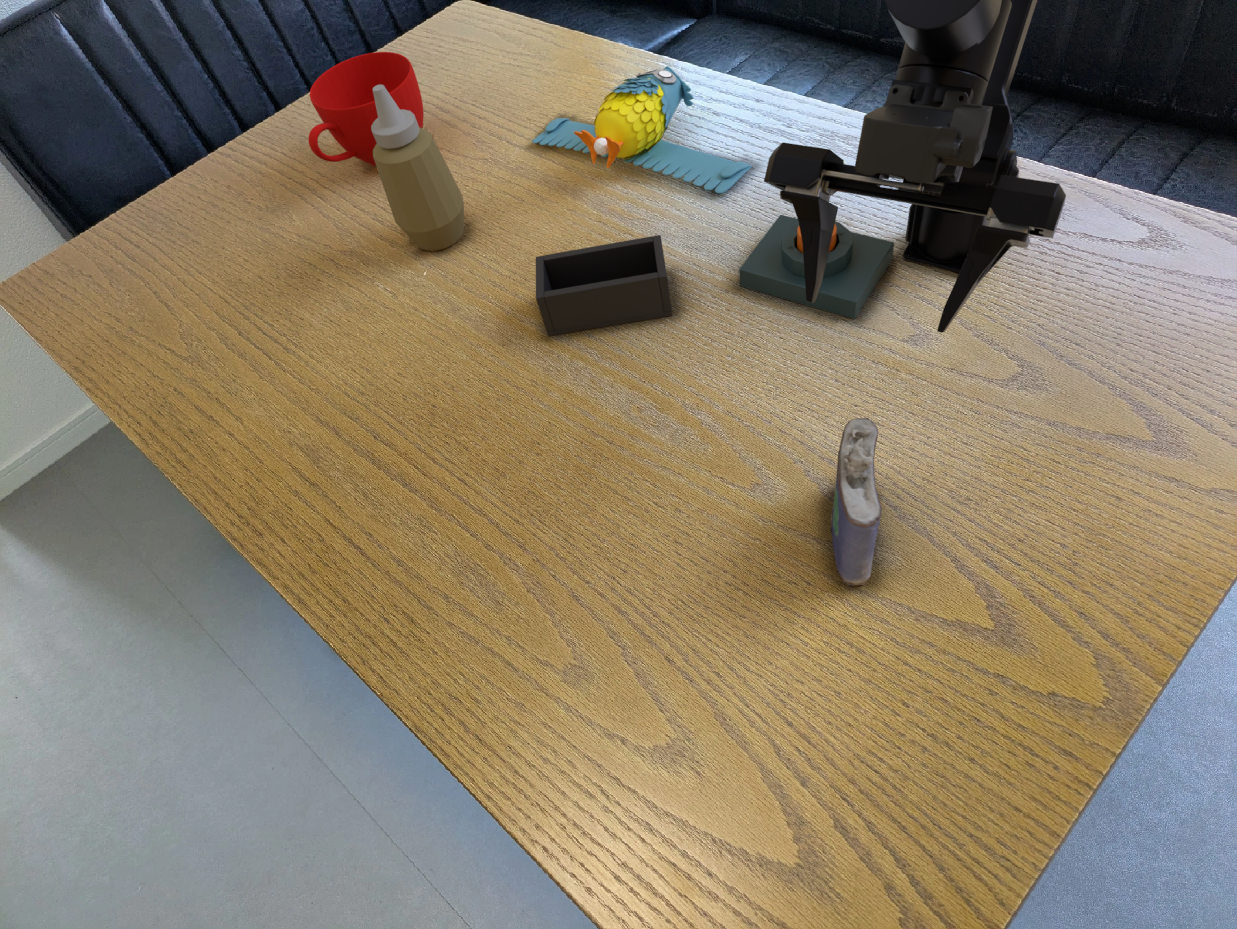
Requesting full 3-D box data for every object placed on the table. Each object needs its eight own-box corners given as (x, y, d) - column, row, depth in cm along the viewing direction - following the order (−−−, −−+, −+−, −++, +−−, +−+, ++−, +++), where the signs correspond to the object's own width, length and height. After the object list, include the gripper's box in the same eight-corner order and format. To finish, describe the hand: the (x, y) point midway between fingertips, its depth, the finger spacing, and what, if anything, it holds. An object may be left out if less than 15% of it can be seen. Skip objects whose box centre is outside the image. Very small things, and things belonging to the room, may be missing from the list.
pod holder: (666, 274, 84) (660, 234, 80) (672, 315, 80) (666, 275, 76) (547, 294, 85) (535, 256, 81) (548, 336, 82) (535, 298, 77)
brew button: (842, 236, 78) (843, 221, 76) (826, 260, 76) (826, 245, 75) (807, 228, 79) (807, 213, 78) (790, 251, 78) (790, 236, 76)
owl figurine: (494, 93, 94) (572, 31, 100) (513, 160, 101) (585, 98, 107) (700, 143, 81) (775, 69, 88) (706, 216, 88) (775, 142, 95)
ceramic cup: (304, 189, 105) (264, 118, 97) (388, 117, 113) (357, 45, 105) (375, 210, 100) (340, 136, 92) (459, 133, 107) (432, 58, 99)
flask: (872, 588, 60) (885, 508, 52) (830, 586, 61) (837, 507, 52) (868, 485, 65) (879, 397, 57) (830, 484, 66) (836, 397, 57)
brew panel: (892, 259, 80) (896, 226, 77) (854, 319, 76) (857, 287, 73) (780, 231, 85) (780, 199, 82) (739, 286, 81) (737, 254, 78)
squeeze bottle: (394, 254, 94) (323, 108, 80) (428, 210, 98) (366, 63, 84) (453, 262, 91) (391, 113, 77) (485, 217, 95) (432, 67, 81)
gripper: (769, 27, 50) (710, 284, 54) (1109, 58, 42) (1009, 354, 46) (815, 74, 59) (762, 289, 64) (1097, 106, 52) (1016, 347, 56)
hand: (873, 316), depth 57 cm, fingers open, 9 cm apart
